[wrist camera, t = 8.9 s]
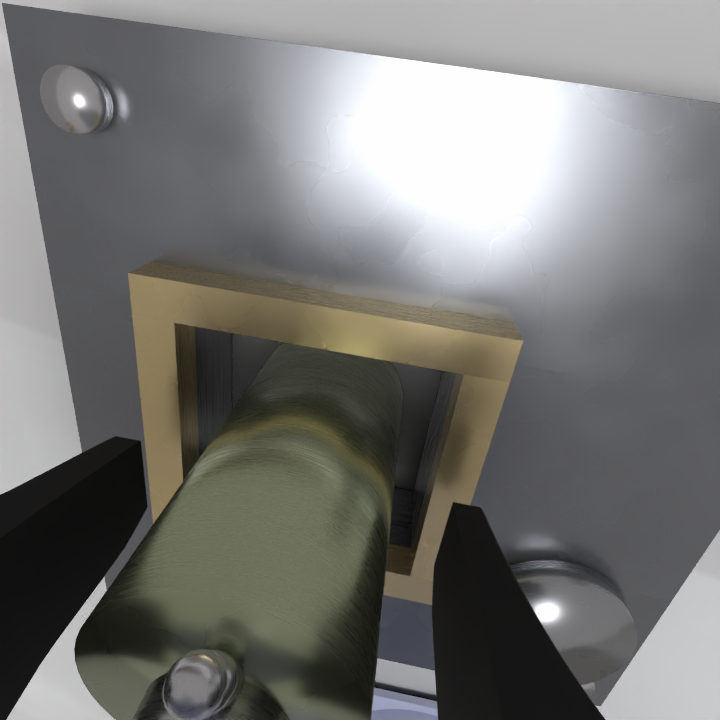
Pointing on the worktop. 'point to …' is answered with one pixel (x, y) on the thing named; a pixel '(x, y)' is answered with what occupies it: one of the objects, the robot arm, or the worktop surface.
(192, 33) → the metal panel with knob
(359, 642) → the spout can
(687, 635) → the worktop surface
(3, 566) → the robot arm
